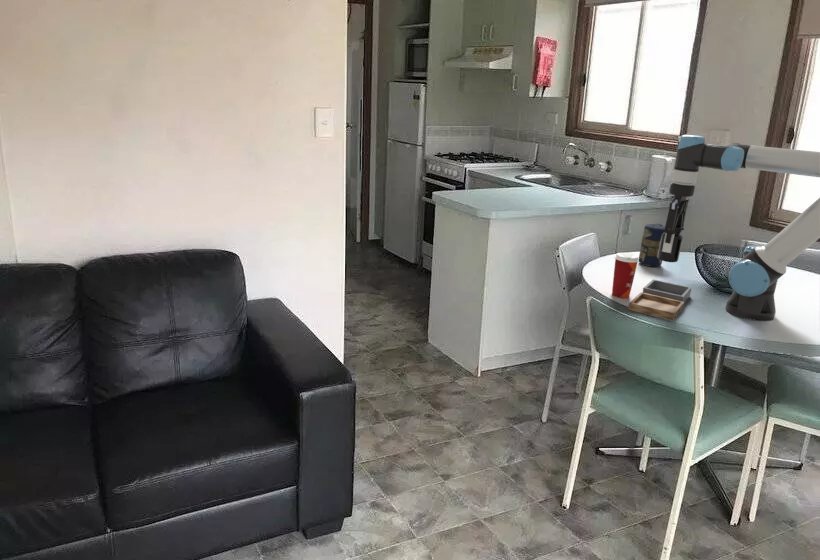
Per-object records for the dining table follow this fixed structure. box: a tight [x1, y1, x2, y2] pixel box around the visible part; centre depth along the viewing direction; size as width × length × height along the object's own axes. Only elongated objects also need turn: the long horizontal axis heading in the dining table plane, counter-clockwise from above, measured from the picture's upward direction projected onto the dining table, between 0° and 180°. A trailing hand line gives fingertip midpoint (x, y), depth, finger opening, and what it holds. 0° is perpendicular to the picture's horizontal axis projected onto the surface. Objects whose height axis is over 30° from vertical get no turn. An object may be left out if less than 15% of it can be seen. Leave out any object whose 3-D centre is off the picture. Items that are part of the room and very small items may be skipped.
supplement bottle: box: [657, 225, 684, 263], centre depth 216 cm, size 7×7×12 cm
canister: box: [638, 223, 665, 268], centre depth 267 cm, size 10×10×18 cm
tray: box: [627, 291, 685, 321], centre depth 216 cm, size 15×15×2 cm
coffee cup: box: [611, 252, 639, 299], centre depth 226 cm, size 8×8×15 cm
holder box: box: [642, 279, 692, 304], centre depth 229 cm, size 14×14×4 cm
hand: (669, 249), depth 217 cm, fingers closed on supplement bottle, 7 cm apart
